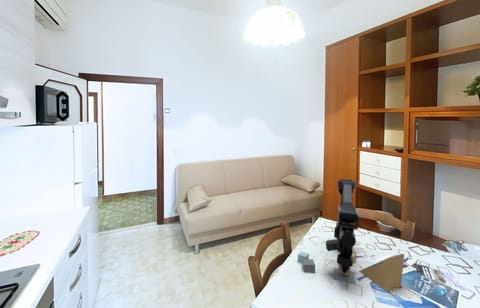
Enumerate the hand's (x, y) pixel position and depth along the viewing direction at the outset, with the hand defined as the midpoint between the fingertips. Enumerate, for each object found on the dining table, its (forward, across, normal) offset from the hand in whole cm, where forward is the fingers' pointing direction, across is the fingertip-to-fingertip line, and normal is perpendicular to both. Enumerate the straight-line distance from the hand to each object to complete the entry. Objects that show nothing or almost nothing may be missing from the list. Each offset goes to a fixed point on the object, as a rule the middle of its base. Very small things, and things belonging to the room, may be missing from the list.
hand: (344, 269), depth 113 cm
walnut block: (+1, 0, 0) cm, 1 cm away
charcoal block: (+3, +2, -16) cm, 16 cm away
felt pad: (+3, 0, 0) cm, 3 cm away
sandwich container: (+3, -4, +14) cm, 15 cm away
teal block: (+3, -4, -19) cm, 20 cm away
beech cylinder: (+3, -15, +3) cm, 15 cm away
